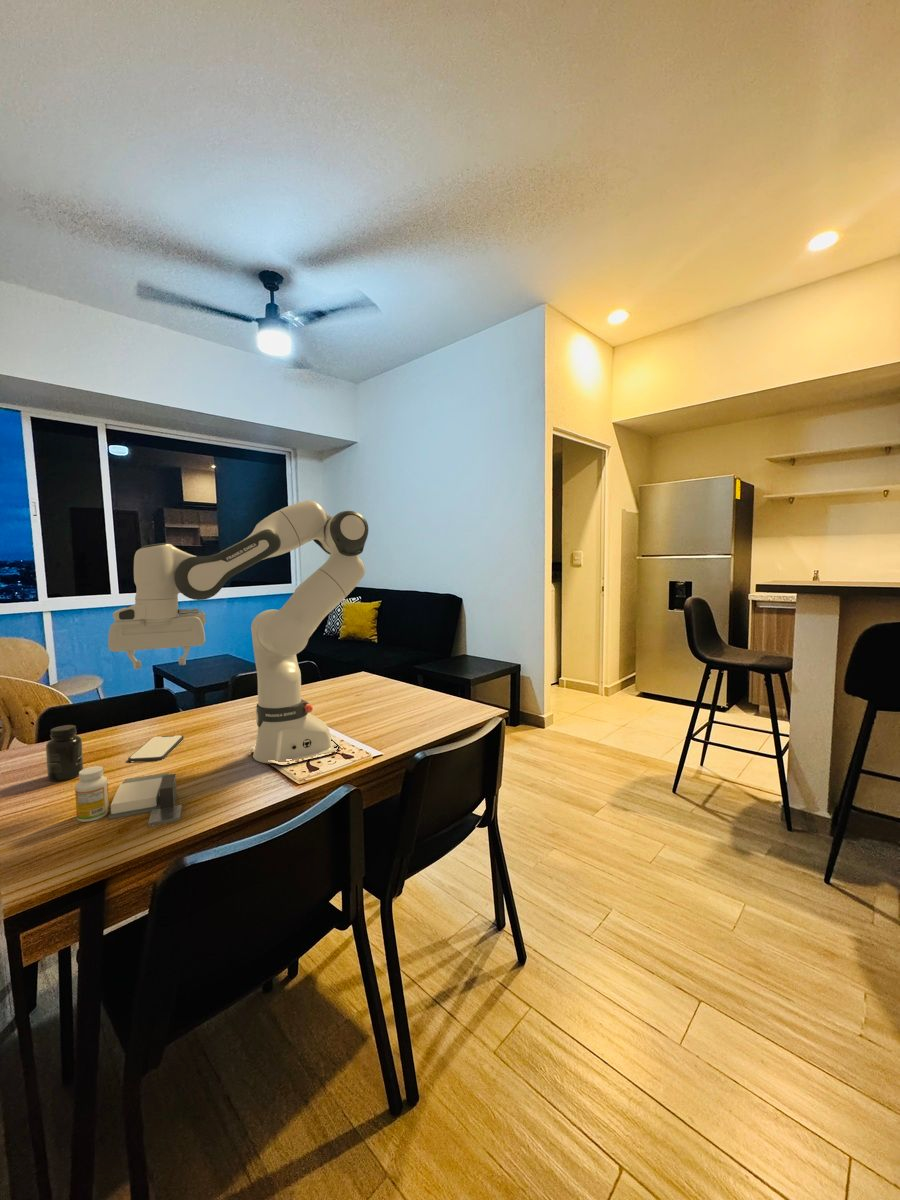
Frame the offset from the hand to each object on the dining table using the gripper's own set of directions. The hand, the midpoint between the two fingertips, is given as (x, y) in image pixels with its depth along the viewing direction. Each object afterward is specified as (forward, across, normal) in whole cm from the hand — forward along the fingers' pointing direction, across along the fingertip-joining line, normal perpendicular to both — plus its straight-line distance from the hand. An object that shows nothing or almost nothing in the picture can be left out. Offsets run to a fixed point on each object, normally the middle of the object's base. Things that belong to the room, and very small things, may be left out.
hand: (160, 666), depth 118 cm
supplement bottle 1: (+27, +21, -8) cm, 35 cm away
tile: (+25, +4, +10) cm, 27 cm away
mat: (+26, +4, +12) cm, 29 cm away
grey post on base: (+26, -2, +22) cm, 34 cm away
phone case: (+27, +3, -17) cm, 32 cm away
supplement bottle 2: (+27, +12, +18) cm, 34 cm away
